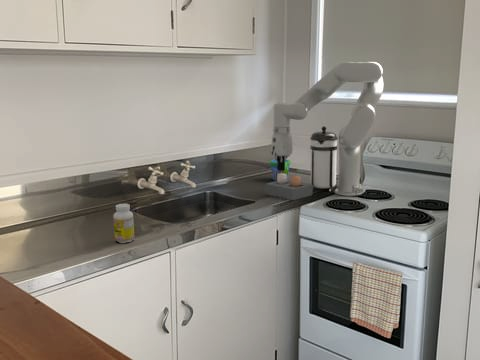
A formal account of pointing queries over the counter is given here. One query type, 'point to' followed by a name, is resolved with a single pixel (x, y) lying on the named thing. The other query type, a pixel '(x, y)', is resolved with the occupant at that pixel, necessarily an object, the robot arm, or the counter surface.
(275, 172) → the snack cup
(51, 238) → the counter surface
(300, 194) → the block
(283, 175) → the plug
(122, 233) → the supplement bottle
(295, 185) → the terracotta plug
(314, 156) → the coffee press
